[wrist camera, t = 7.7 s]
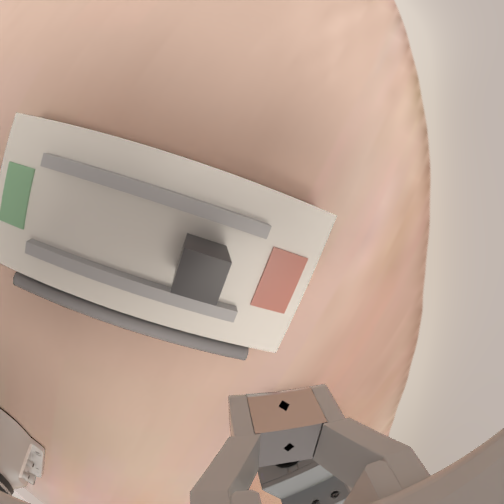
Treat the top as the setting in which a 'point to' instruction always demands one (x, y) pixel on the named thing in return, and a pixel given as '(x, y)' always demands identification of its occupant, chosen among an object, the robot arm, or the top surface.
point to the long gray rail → (129, 320)
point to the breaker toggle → (201, 270)
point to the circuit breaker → (303, 483)
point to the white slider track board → (153, 231)
